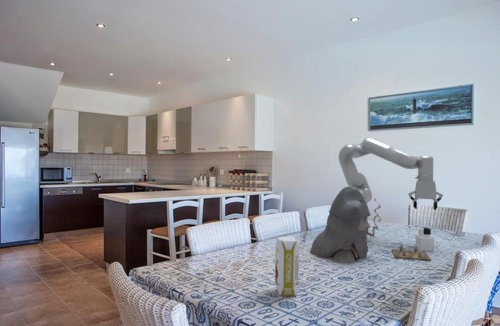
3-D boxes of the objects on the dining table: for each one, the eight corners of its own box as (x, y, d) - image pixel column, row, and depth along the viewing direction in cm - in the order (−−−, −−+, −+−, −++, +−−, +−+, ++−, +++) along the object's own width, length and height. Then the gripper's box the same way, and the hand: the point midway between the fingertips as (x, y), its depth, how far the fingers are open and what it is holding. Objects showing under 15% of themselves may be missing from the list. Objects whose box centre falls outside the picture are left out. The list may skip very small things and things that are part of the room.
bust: (384, 266, 154) (385, 189, 154) (308, 261, 161) (309, 187, 161) (372, 248, 187) (373, 185, 188) (310, 245, 194) (311, 184, 194)
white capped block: (428, 248, 191) (428, 226, 191) (434, 251, 184) (434, 229, 184) (415, 247, 192) (415, 226, 192) (420, 250, 184) (420, 228, 185)
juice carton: (294, 288, 124) (295, 236, 124) (299, 297, 116) (299, 241, 116) (274, 288, 124) (275, 236, 124) (277, 297, 115) (277, 241, 116)
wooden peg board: (395, 258, 168) (395, 249, 168) (391, 250, 183) (391, 242, 183) (431, 261, 163) (431, 252, 163) (424, 253, 179) (424, 244, 179)
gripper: (409, 178, 187) (409, 209, 187) (444, 178, 182) (444, 210, 182) (407, 177, 194) (407, 207, 194) (441, 178, 189) (440, 209, 189)
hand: (425, 209), depth 188 cm, fingers open, 9 cm apart
